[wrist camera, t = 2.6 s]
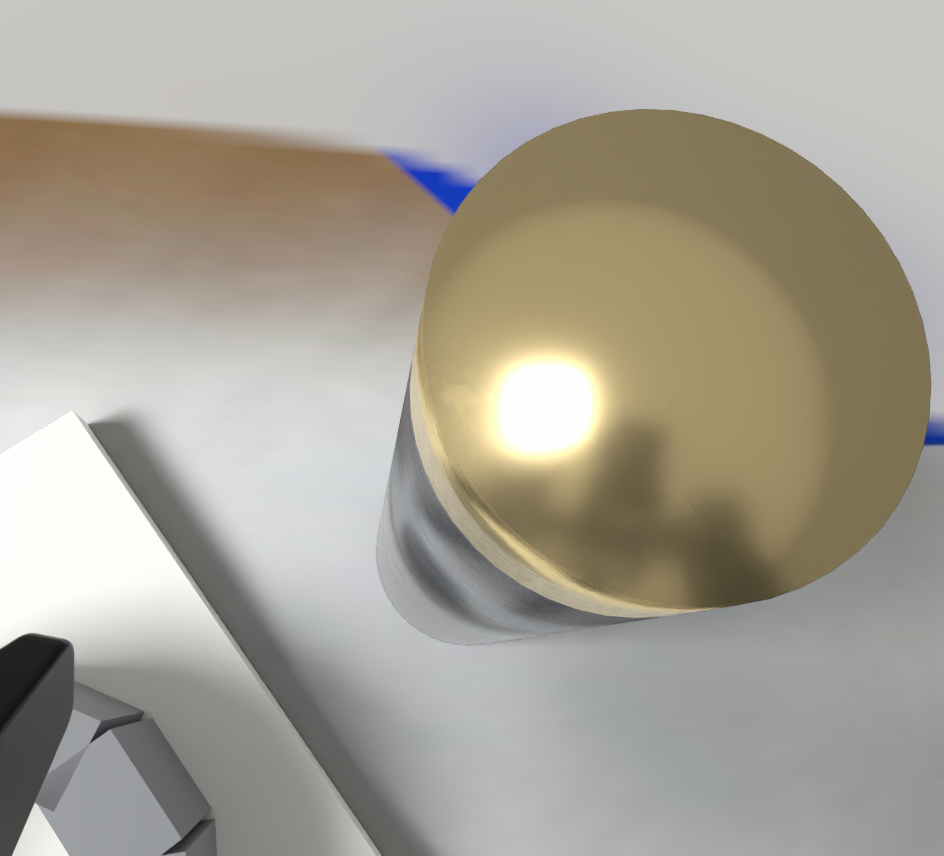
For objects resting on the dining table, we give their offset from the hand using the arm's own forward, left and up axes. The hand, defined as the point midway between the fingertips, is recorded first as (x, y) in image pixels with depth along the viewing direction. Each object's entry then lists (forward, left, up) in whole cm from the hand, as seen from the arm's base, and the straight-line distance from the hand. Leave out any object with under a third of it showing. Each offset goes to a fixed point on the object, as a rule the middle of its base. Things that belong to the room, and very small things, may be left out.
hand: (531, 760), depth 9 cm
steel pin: (+2, -3, -10) cm, 11 cm away
